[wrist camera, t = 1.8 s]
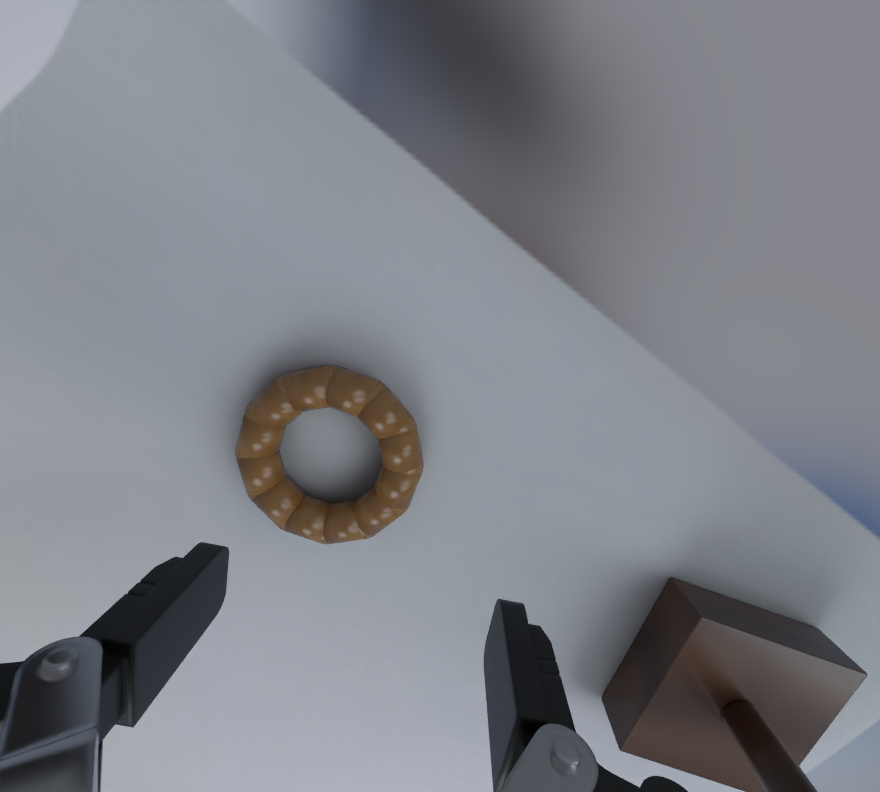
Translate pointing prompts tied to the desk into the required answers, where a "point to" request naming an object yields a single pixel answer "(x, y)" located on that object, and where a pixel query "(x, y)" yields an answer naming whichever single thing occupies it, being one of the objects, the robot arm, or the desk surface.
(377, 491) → the segmented donut ring
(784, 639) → the peg stand
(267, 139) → the desk surface
